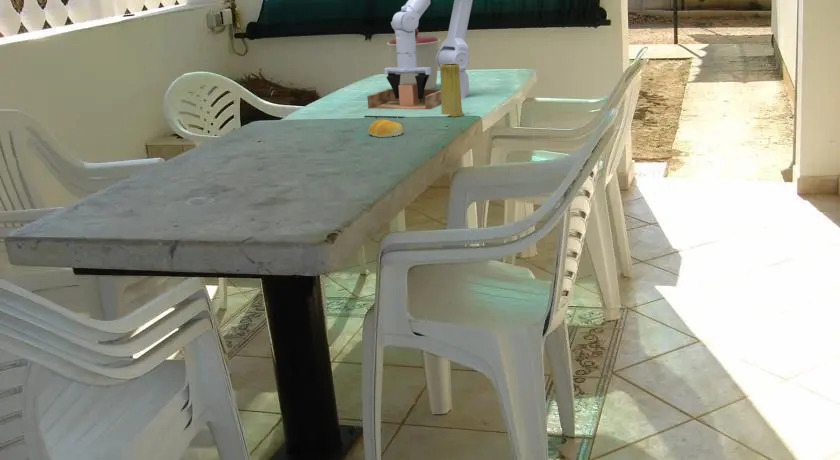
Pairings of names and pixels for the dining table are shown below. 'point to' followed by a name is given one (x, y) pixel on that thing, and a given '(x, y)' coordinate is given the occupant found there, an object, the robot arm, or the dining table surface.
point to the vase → (450, 90)
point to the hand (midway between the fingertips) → (409, 98)
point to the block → (408, 94)
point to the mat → (384, 116)
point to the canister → (419, 58)
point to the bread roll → (385, 128)
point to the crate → (388, 101)
